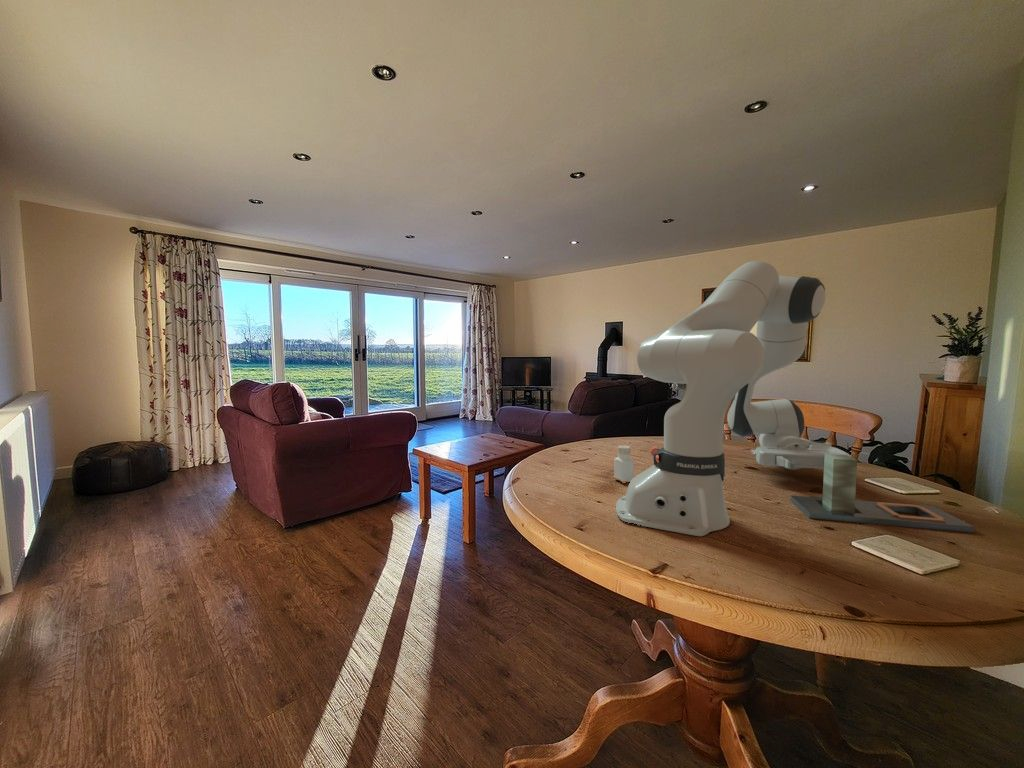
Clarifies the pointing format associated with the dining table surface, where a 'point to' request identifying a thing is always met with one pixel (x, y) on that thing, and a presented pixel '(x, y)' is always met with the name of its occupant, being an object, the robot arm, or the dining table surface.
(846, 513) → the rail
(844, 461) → the peg
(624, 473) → the white pill bottle
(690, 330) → the robot arm
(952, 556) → the dining table surface
